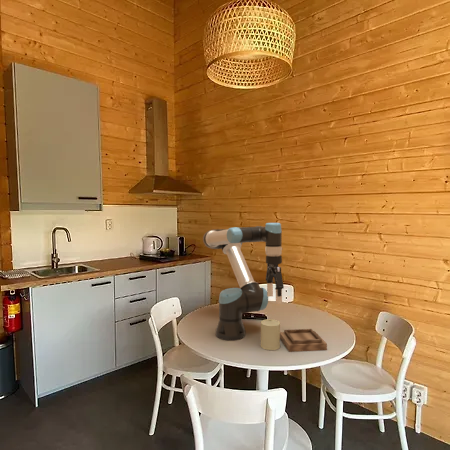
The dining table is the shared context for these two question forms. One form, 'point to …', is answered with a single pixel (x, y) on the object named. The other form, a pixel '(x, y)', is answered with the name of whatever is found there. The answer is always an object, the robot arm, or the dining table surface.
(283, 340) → the stand
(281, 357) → the dining table surface
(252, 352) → the dining table surface
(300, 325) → the dining table surface
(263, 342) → the can
